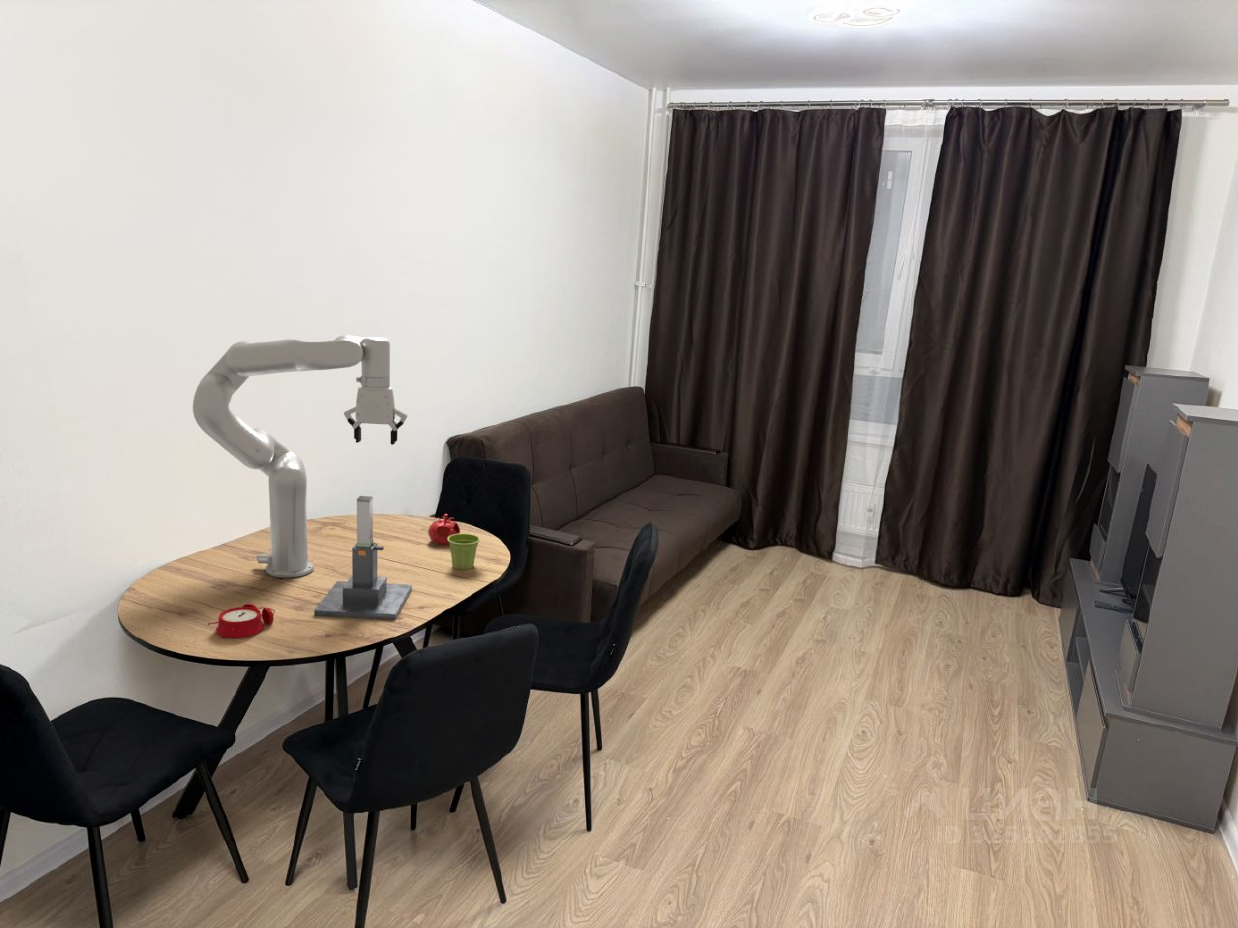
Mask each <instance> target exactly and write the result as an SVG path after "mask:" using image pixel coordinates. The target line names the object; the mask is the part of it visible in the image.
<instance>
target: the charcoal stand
mask: <svg viewBox="0 0 1238 928" xmlns="http://www.w3.org/2000/svg"><path fill="white" fill-rule="evenodd" d="M384 547H385V546H383V545H378V542H373V546H372V548H357V547H356V543H355V544H354V545H353V546H352V548H351V552H352V553H351V554H352V556H351V558H352V561H351V562H352V572H351V573H352V575H351V576H350V578H348V580H347V581H346V580H345V581H343V580H337V581H336V582H335V583H334V584H333V585H332V587H331V588H330V589H329V591H328V592H327V593H326V595H324V597H323V599H322V600H320V602H319V604H318V605H317V606H316V607H315V609H313V617H327V618H328V617H332V618H334V617H335V618H350V619H351V618H352V619H355V618H356V619H370V620H371V619H373V620H374V619H375V620H393V619H397V617H399V614H400V612H401V610H402V609H403V606H404V605H405V603H406V601H407V600H408V598H409V596H410V594H411V592H412V590H413V585H412V584H409V583H388V582H387V581H388V579H387V578H388V577H387V576H378V551H383V550H385V549H384Z"/></svg>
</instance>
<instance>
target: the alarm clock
mask: <svg viewBox="0 0 1238 928" xmlns="http://www.w3.org/2000/svg"><path fill="white" fill-rule="evenodd" d="M261 609H262V611H261ZM272 611H273V612H272ZM275 612H276V610H275V609H273V608H270V607H264V606H263V607H257V606H256V604H252V603H246V604H244V605H242V606H240V607H232V608H229V609H228V608H227V609H226V610H223V611H221V613H219V615H218V621H215V622H208V623H207V625H208V626H210V625H212V624H213V625H214V624H217V627H216V629H215V633H216V634H217V635H218V636H220V639H225V638H226V639H243V638H248V637H253V636H256V635H258V634H259V633H261V632H262V631H264V630H265V624H266V623H268V627H269V626H271V625H273V623H274V616H275Z"/></svg>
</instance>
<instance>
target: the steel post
mask: <svg viewBox="0 0 1238 928" xmlns="http://www.w3.org/2000/svg"><path fill="white" fill-rule="evenodd" d="M373 502H374V497H373V496H369V495H368V496H367V495H360V496H358V497H357V499H356V542H355V544H356V547H357V548H372V546H373V543H374V531H373V530H374V525H373V524H374V523H373V522H374V518H373V517H374V515H373V514H374V503H373Z"/></svg>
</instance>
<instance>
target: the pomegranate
mask: <svg viewBox="0 0 1238 928" xmlns="http://www.w3.org/2000/svg"><path fill="white" fill-rule="evenodd" d="M441 517H442V518H443V519H440V518H439V517H436V518H435V521H433V522H432V523H431V525H429V528H428V529H427V533H428V536H429V539H430V541H431V542H432V543H434V544H436V545H438V546H439V545H440V546H450V545H449V541H448V537H449V536H451V535H454V534H461V529H460V526H459V524H458V522H457V521H453V520H454V519H455V518H454V517H449V518H448V514H447V513H445V514H443V516H441ZM437 519H438V520H437Z"/></svg>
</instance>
